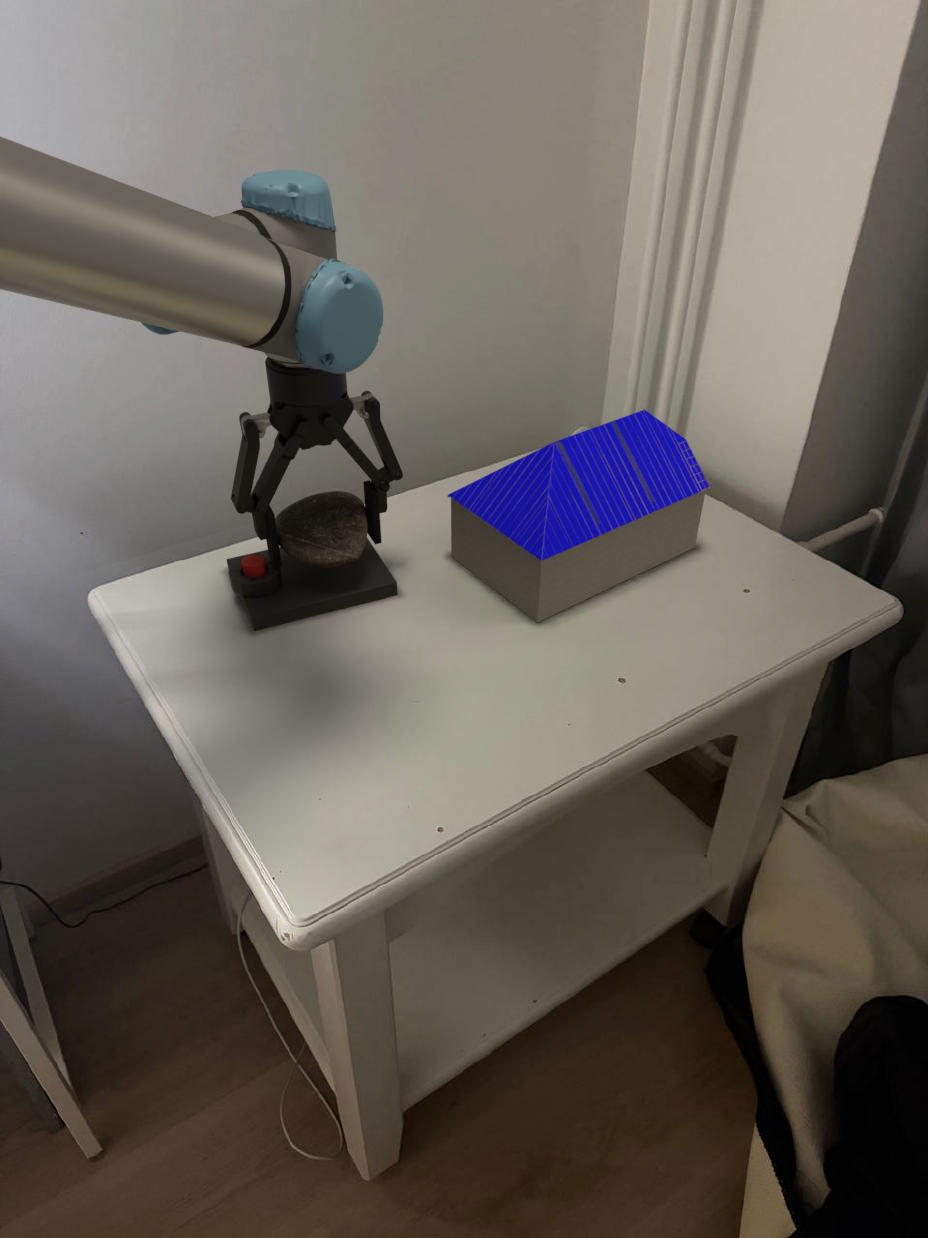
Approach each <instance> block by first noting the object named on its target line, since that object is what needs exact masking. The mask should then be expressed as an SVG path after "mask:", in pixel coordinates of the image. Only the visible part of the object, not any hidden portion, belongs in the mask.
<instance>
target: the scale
mask: <svg viewBox="0 0 928 1238" xmlns="http://www.w3.org/2000/svg"><path fill="white" fill-rule="evenodd" d="M279 549H280V556H281V563H282V566H281V567H277V568H275V567H274V565H273V563H272V561H271V559H270V557H269V554H268V549H265V550H261V551H256V552H252V553H247V554H243V555H237V556H234V557H229V558H226V564H227V569H228V576H229V582H230V586H231V588H232V591H233V592H234V593H235V594H237V595H238V597H239V599H240V602H241V603H242V606H243V609H244V611H245V614H246V616H247V618H248V620H249V623H250V625H251V627H252V629H253V630H252V631H254V632H257V631H260V630H265V629H268V628H272V627H277V626H279V625H284V624H288V623H292V622H296V621H300V620H304V619H308V618H311V617H315V616H319V615H323V614H327V613H331V612H335V611H338V610H342V609H346V608H350V607H354V606H358V605H362V604H366V603H370V602H374V601H377V600H381V599H386V598H389V597H393V596H396V595H398V582H397V580H396V578H395V577H394V575H393V573H392V572H391V571H390V569H389V568H388V567H387V565H386V563H385V562H384V561H383V559H382V558H381V556H380V554H379V553H378V552H377V550H376V549H375V547H374V545H373V544H372V543H371V541H370V540H369V539H368V537H367V540H366V544H365V548H364V551H363V553H362V555H361V557H360V558H359V559H358V560H357V561H355V562H352V563H350V564H347V565H344V566H340V567H334V568H322V567H315V566H311V565H308V564H305V563H303V562H301V561H298V560H297V559H295V558H293V557H292V556H290V555H289V554H287V553H286V552H285V551H284V550H283V549H282V548H281V547H280V546H279ZM252 554H258V555H261V556H263V557H264V560H265V566H266V573H265V574H264V575H262V576H259V577H255V578H250V577H245V576H244V573H243V568H242V559H243V558H244V557H246V556H248V555H252Z"/></svg>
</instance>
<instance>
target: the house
mask: <svg viewBox="0 0 928 1238" xmlns="http://www.w3.org/2000/svg"><path fill="white" fill-rule="evenodd" d="M708 489H709V490H710V489H711V486H710V484H709V482H708V480H707V478H706V475H705V474H704V472H703V470H702V468H701V466H700V464H699V463H698V460H697V458H696V456H695V454H694V453H693V451H692V449H691V447H690V444H689V442H688V441H687V439H686V438H685V437H683V436H682V435H681V434H679V433H678V432H676V430H674V429H673V428H671V427H669V426H668V425H667V424H666V423H664V422H663V421H661V420H660V419H658V418H657V417H656V416H654V415H653V414H652V413H650V412H649V411H648V410H646V409H645V408H643V409H642V410H640V411H637V412H634V413H631V414H628V415H625V416H623V417H620V418H617V419H614V420H611V421H608V422H606V423H603V424H600V425H598V426H594V427H592V428H589V429H586V430H584V431H581V432H577V433H575V434H572V435H569V436H567V437H564V438H561V439H558V440H556V441H553V442H551V443H549V444H547V445H545V446H543V447H540V448H539V449H537V450H535V451H533V452H531V453H528V454H527V455H525V456H523V457H520V458H519V459H517V460H515V461H513V462H511V463H509V464H506V465H505V466H503V467H501V468H498V469H497V470H495V471H493V472H490V473H488V474H486V475H485V476H483V477H481V478H479V479H476V480H474V481H473V482H470V483H469V484H467V485H465V486H462V487H461V488H458V489H456V490H454V491H453V492H450V493H448V494H447V498H450V532H451V533H450V536H451V537H450V542H451V543H450V550H451V551H450V552H451V554H450V556H451V558H453V559H454V560H455V561H457V562H458V563H459V564H461V565H462V566H463V567H465V568H466V569H467V570H468V571H470V572H471V573H472V574H474V576H476V577H477V578H479V579H480V580H481V581H483V582H484V583H485V584H486V585H488V586H489V587H490V588H492V589H493V590H494V591H496V592H497V593H498V594H499V595H501V596H502V597H503V598H505V599H506V600H508V602H510V603H511V604H512V605H514V606H515V607H516V608H518V609H519V610H520V611H521V612H523V613H524V614H525V615H527V616H528V617H529V618H531V619H532V620H533V621H534V622H535V623H540V622H542V621H543V620H546V619H548V618H550V617H552V616H555V615H556V614H558V613H561V612H562V611H564V610H567V609H569V608H571V607H574V606H575V605H577V604H580V603H581V602H583V601H586V600H587V599H589V598H591V597H594V596H596V595H599V594H600V593H602V592H604V591H606V590H609V589H611V588H613V587H615V586H617V585H620V584H621V583H623V582H626V581H627V580H630V579H632V578H634V577H636V576H638V575H640V574H642V573H644V572H646V571H648V570H650V569H652V568H655V567H657V566H659V565H661V564H663V563H666V562H667V561H669V560H671V559H674V558H676V557H677V556H680V555H682V554H684V553H686V552H688V551H690V550H692V549H695V547H696V542H697V538H698V533H699V528H700V523H701V517H702V512H703V507H704V501H705V497H706V492H707V490H708Z"/></svg>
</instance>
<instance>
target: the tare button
mask: <svg viewBox="0 0 928 1238" xmlns="http://www.w3.org/2000/svg"><path fill="white" fill-rule="evenodd" d="M242 568H243V573H244V576H245V577H250V578H255V577H259V576H262V575H264V574H265V573H266V566H265V560H264V557H263V556H261V555H258V554H252V555H248V556H246V557H244V558H243V559H242Z"/></svg>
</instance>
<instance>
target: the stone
mask: <svg viewBox="0 0 928 1238" xmlns="http://www.w3.org/2000/svg"><path fill="white" fill-rule="evenodd" d="M275 522H276V529H277V536H278V542H279V547H281V548H282V549H283V550H284V551H285V552H286V553H287V554H289V555H290V556H292V557H293V558H295V559H297V560H298V561H301V562H303V563H305V564H308V565H311V566H315V567H322V568H334V567H340V566H344V565H347V564H350V563H352V562H355V561H357V560H358V559H359V558H360V557H361V555H362V553H363V551H364V548H365V544H366V540H367V538H368V533H367V513H366V508H365V502H363V501H362V499H361V498H360V497H359V496H357V495H356V494H353V493H351V492H348V491H343V490H331V491H323V492H319V493H315V494H311V495H308V496H305V497H303V498H301V499H299V500H297V501H294V502H292V503H291V504H289V505H288V506H286V507H285V508H284V509H282V510H281V511H280V512H279V513H278V514H277V515H276V516H275Z"/></svg>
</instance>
